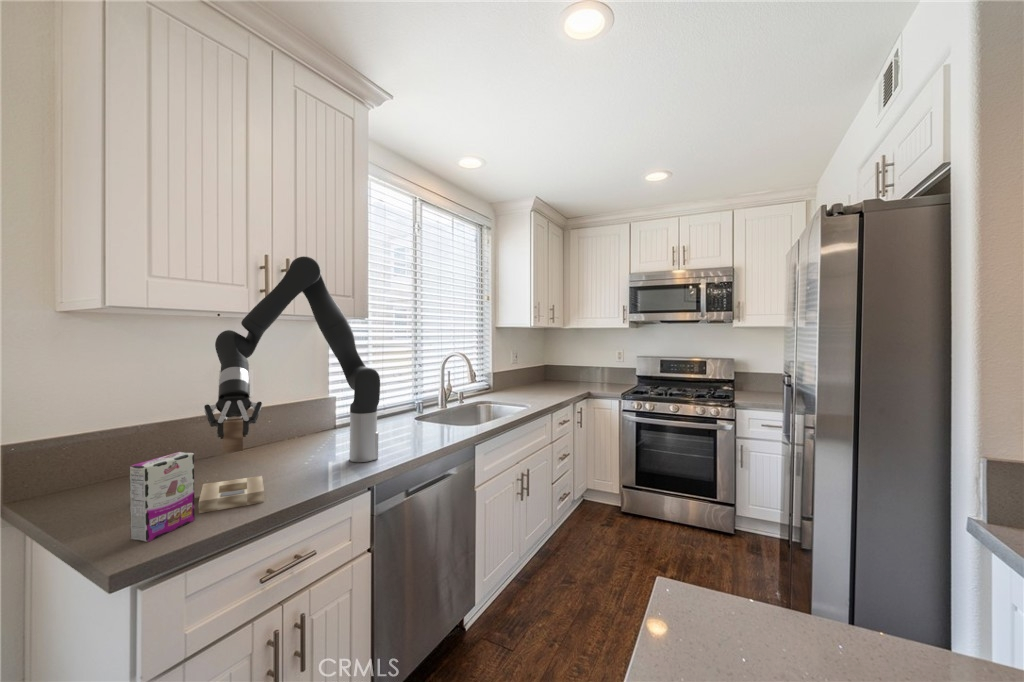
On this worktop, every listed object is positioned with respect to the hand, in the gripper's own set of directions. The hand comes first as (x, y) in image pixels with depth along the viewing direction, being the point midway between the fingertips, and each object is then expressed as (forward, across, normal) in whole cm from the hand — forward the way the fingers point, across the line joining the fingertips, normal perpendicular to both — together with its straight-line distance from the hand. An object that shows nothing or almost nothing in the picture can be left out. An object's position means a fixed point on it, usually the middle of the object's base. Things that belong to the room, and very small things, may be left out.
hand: (233, 436), depth 113 cm
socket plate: (+11, 0, +14) cm, 18 cm away
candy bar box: (+21, -13, +4) cm, 25 cm away
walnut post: (+2, 0, +4) cm, 5 cm away
